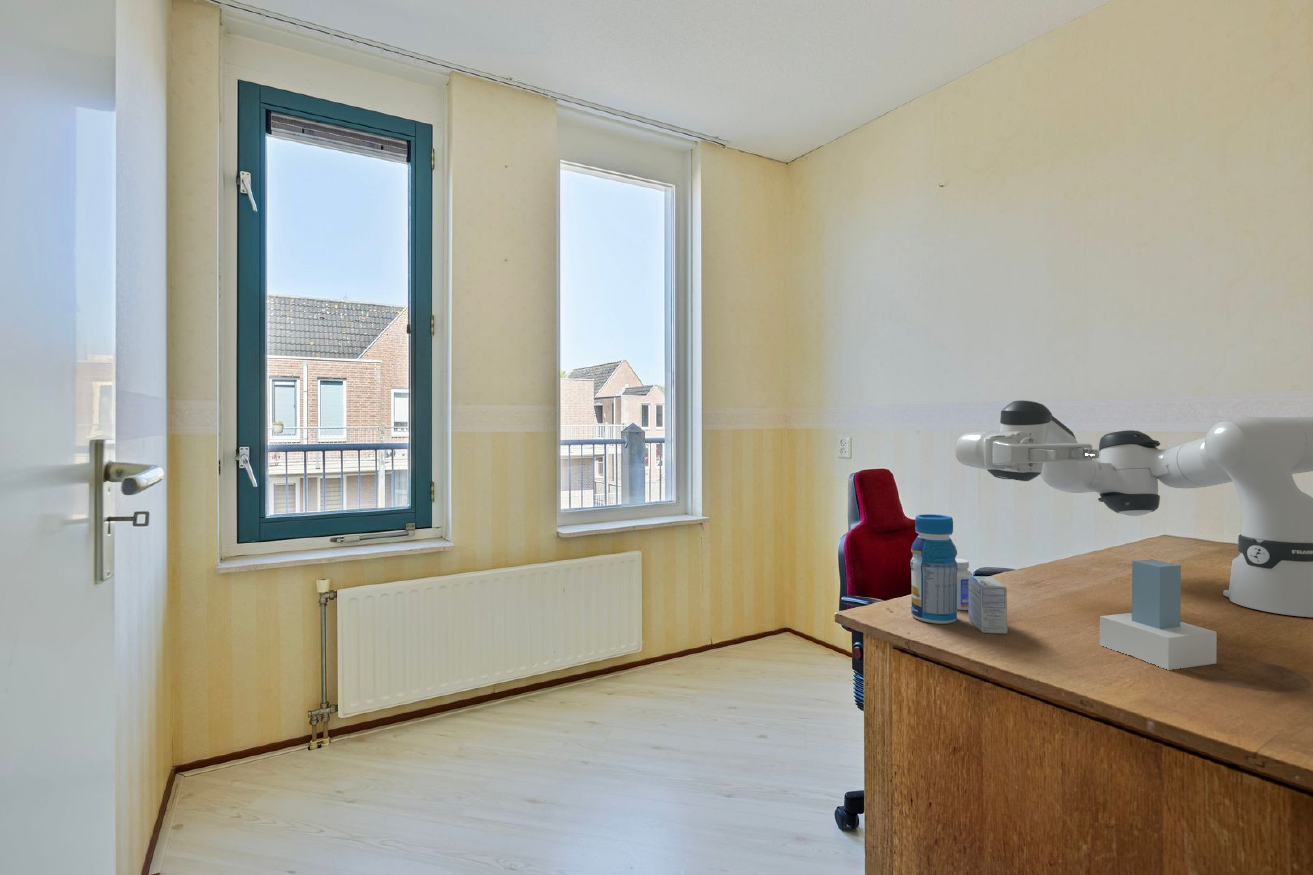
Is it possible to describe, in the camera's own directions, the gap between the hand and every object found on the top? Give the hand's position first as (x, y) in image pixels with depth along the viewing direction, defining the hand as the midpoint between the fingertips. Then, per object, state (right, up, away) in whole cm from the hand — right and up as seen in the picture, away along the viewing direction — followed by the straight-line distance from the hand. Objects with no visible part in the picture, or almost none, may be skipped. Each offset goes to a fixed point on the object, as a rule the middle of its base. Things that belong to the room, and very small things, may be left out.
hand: (1077, 454), depth 117 cm
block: (+1, -27, -17) cm, 32 cm away
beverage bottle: (-27, -32, +2) cm, 42 cm away
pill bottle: (-18, -32, +9) cm, 38 cm away
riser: (+1, -32, -17) cm, 37 cm away
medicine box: (-19, -32, -4) cm, 38 cm away
